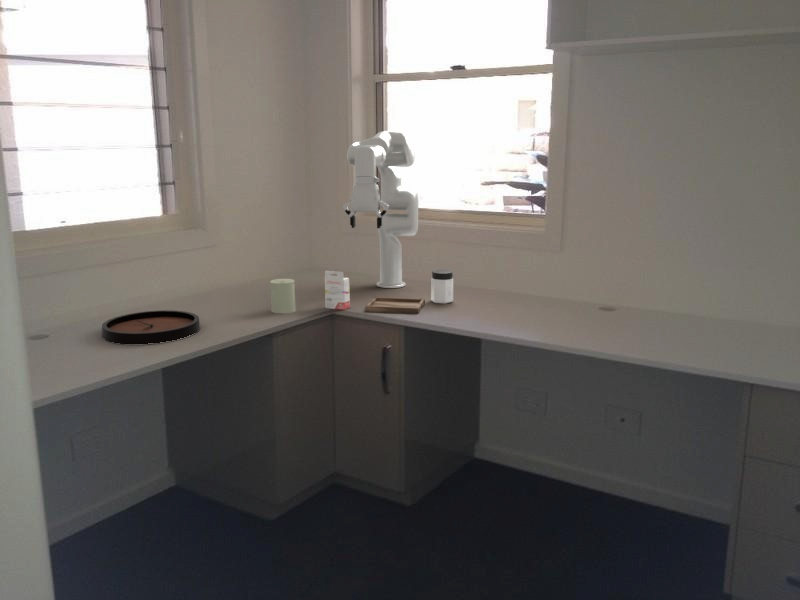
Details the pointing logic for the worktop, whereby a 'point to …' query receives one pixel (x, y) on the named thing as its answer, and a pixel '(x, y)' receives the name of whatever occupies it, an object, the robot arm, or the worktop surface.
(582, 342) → the worktop surface
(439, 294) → the jar
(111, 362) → the worktop surface
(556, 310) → the worktop surface
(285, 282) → the can
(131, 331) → the wall clock
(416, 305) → the tray
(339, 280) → the ink cartridge box
